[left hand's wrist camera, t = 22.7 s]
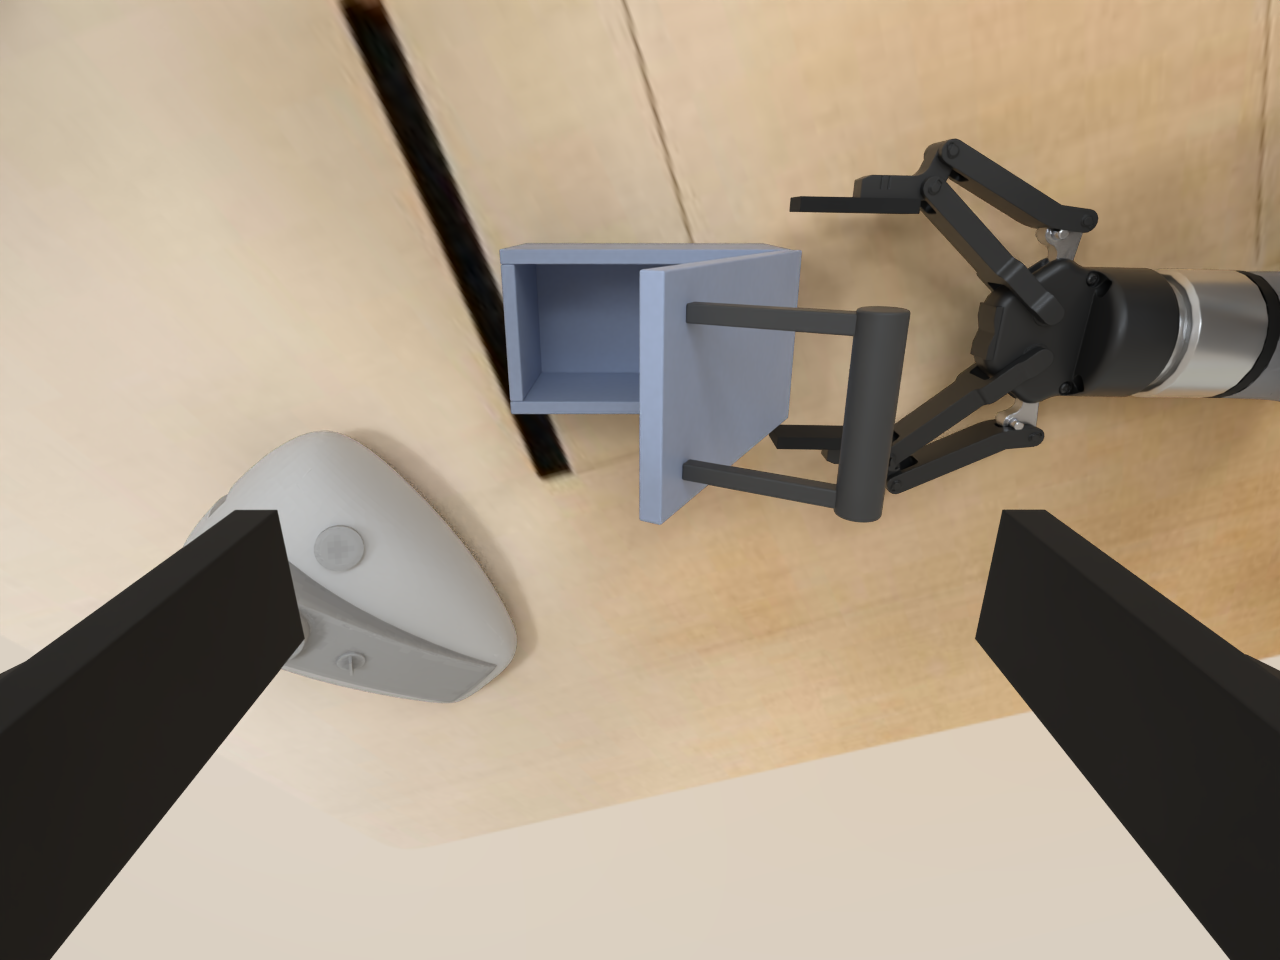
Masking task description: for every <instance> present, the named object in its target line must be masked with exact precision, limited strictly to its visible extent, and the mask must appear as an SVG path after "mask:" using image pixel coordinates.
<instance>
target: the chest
mask: <svg viewBox="0 0 1280 960" xmlns="http://www.w3.org/2000/svg"><path fill="white" fill-rule="evenodd" d="M781 250H790V249H786V248H781V247H777V246H772V245H768V244H658V243H526V244H521V245H517V246H513V247H508V248H504V249H500V263H501V264H502V265H501V276H502V290H503V304H504V318H505V332H506V346H507V360H508V374H509V388H510V400H511V413H512V414H640V270H643V269H650V268H657V267H665V266H672V265H679V264H686V263H694V262H701V261H708V260H716V259H723V258H730V257H738V256H745V255H752V254H759V253H767V252H774V251H781Z"/></svg>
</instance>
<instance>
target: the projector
mask: <svg viewBox="0 0 1280 960" xmlns="http://www.w3.org/2000/svg"><path fill="white" fill-rule="evenodd" d="M234 510H278V515H279V520H280V524H281V529H282V534H283V538H284V543H285V548H286V552H287V557H288V562H289V567H290V571H291V576H292V581H293V585H294V590H295V595H296V599H297V604H298V609H299V613H300V618H301V623H302V628H303V632H304V637H305V639H304V640H303V642H302V643H301V644H300V645H299V647H298V648H297V649H296V651H295V652H294V653H293V654H292V656H291V657H290V658H289V659H288V661H287V662H286V663H285V664H284V666H283V667H282V668H281V669H283V670H286V671H289V672H292V673H295V674H299V675H302V676H305V677H308V678H312V679H315V680H319V681H323V682H327V683H331V684H335V685H339V686H343V687H348V688H352V689H357V690H361V691H366V692H371V693H376V694H382V695H387V696H392V697H398V698H404V699H411V700H418V701H425V702H435V703H454V702H458V701H461V700H463V699H465V698H467V697H469V696H471V695H472V694H474V693H475V692H477V691H478V690H480V689H481V688H482V687H484V686H485V685H486V684H488V683H489V682H490V681H491V680H493V679H494V678H495V677H496V676H498V675H499V674H500V673H501V672H502V671H503V670H504V669H505V668H506V667H507V666H508V665H509V663H510V662H511V661H512V659H513V657H514V654H515V651H516V647H517V634H516V630H515V627H514V625H513V622H512V620H511V618H510V616H509V614H508V612H507V610H506V608H505V606H504V604H503V602H502V600H501V599H500V597H499V595H498V594H497V592H496V590H495V588H494V587H493V585H492V583H491V582H490V580H489V579H488V577H487V576H486V574H485V573H484V571H483V570H482V568H481V567H480V565H479V564H478V562H477V561H476V560H475V558H474V557H473V556H472V554H471V553H470V551H469V550H468V549H467V548H466V546H465V545H464V544H463V542H462V541H461V540H460V539H459V537H458V536H457V535H456V534H455V533H454V532H453V530H452V529H451V528H450V527H449V526H448V524H447V523H446V522H445V521H444V520H443V519H442V518H441V516H440V515H439V514H438V513H437V512H436V511H435V510H434V509H433V508H432V507H431V506H430V504H429V503H428V502H427V501H426V500H425V499H424V498H423V497H422V496H421V495H420V494H419V493H418V492H417V491H416V490H415V489H414V488H413V487H412V486H411V485H410V484H409V483H408V482H407V481H406V480H405V479H404V478H402V477H401V476H400V475H399V474H398V473H397V472H396V471H395V470H394V469H393V468H392V467H390V466H389V465H388V464H387V463H386V462H385V461H384V460H382V459H381V458H380V457H379V456H377V455H376V454H375V453H374V452H372V451H371V450H370V449H368V448H367V447H365V446H364V445H362V444H361V443H359V442H358V441H356V440H354V439H352V438H350V437H348V436H346V435H343V434H340V433H337V432H331V431H316V432H311V433H306V434H304V435H301V436H298V437H296V438H294V439H292V440H290V441H288V442H286V443H284V444H283V445H281V446H279V447H278V448H276V449H274V450H273V451H272V452H270V453H269V454H267V455H266V456H265V457H263V458H262V459H261V460H260V461H259V462H257V463H256V464H255V465H254V466H253V467H252V468H251V469H250V470H248V471H247V472H246V473H245V474H244V475H243V476H242V477H241V478H240V479H239V480H238V481H237V482H236V483H235V484H234V485H233V486H232V488H231V489H230V491H229V493H228V494H227V495H225V496H224V497H222V498H221V499H219V500H218V501H217V502H216V503H215V504H214V505H213V507H212V508H211V509H210V510H209V511H208V512H207V513H206V514H205V515H204V517H203V518H202V519H201V520H200V521H199V523H198V524H197V525H196V527H195V528H194V529H193V531H192V532H191V534H190V535H189V537H188V539H187V540H186V542H185V544H184V546H186V545H187V544H189V543H190V542H191V541H193V540H194V539H195V538H197V537H198V536H200V535H201V534H202V533H204V532H205V531H206V530H208V529H209V528H211V527H212V526H213V525H215V524H216V523H218V522H219V521H220V520H222V519H223V518H224V517H226V516H227V515H229V514H230V513H231V512H233V511H234ZM184 546H183V547H184Z"/></svg>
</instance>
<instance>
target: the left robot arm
mask: <svg viewBox="0 0 1280 960" xmlns="http://www.w3.org/2000/svg"><path fill="white" fill-rule="evenodd" d="M304 639H305V637H304V632H303V628H302V623H301V618H300V613H299V609H298V604H297V599H296V595H295V590H294V585H293V581H292V576H291V571H290V567H289V562H288V557H287V552H286V548H285V543H284V538H283V534H282V529H281V524H280V520H279V515H278V510H234V511H233V512H231V513H230V514H229V515H227V516H226V517H224V518H223V519H222V520H220V521H219V522H218V523H216V524H215V525H213V526H212V527H211V528H209V529H208V530H206V531H205V532H204V533H202V534H201V535H200V536H198V537H197V538H195V539H194V540H193V541H191V542H190V543H189V544H187V545H186V546H184V547H183V548H182V549H180V550H179V551H177V552H176V553H175V554H173V555H172V556H171V557H169V558H168V559H166V560H165V561H164V562H162V563H161V564H159V565H158V566H157V567H155V568H154V569H153V570H151V571H150V572H148V573H147V574H146V575H144V576H143V577H142V578H140V579H139V580H137V581H136V582H135V583H133V584H132V585H130V586H129V587H128V588H126V589H125V590H124V591H122V592H121V593H119V594H118V595H117V596H115V597H114V598H113V599H111V600H110V601H108V602H107V603H106V604H104V605H103V606H101V607H100V608H99V609H97V610H96V611H95V612H93V613H92V614H90V615H89V616H88V617H86V618H85V619H84V620H82V621H81V622H79V623H78V624H77V625H75V626H74V627H72V628H71V629H70V630H68V631H67V632H66V633H64V634H63V635H61V636H60V637H59V638H57V639H56V640H55V641H53V642H52V643H50V644H49V645H48V646H46V647H45V648H43V649H42V650H41V651H39V652H38V653H37V654H35V655H34V656H32V657H31V658H30V659H28V660H27V661H25V662H23V663H21V664H19V665H17V666H15V667H13V668H11V669H9V670H7V671H5V672H3V673H1V674H0V960H50V959H51V958H52V956H53V955H54V954H55V953H56V951H57V950H58V949H59V948H60V946H61V945H62V944H63V943H64V941H65V940H66V939H67V938H68V936H69V935H70V934H71V933H72V931H73V930H74V929H75V927H76V926H77V925H78V924H79V922H80V921H81V920H82V919H83V917H84V916H85V915H86V914H87V912H88V911H89V910H90V909H91V907H92V906H93V905H94V904H95V902H96V901H97V900H98V899H99V897H100V896H101V895H102V894H103V892H104V891H105V890H106V889H107V887H108V886H109V885H110V883H111V882H112V881H113V880H114V878H115V877H116V876H117V875H118V873H119V872H120V871H121V870H122V868H123V867H124V866H125V865H126V863H127V862H128V861H129V860H130V858H131V857H132V856H133V855H134V853H135V852H136V851H137V849H138V848H139V847H140V846H141V844H142V843H143V842H144V841H145V839H146V838H147V837H148V836H149V834H150V833H151V832H152V831H153V829H154V828H155V827H156V826H157V824H158V823H159V822H160V820H161V819H162V818H163V817H164V815H165V814H166V813H167V812H168V810H169V809H170V808H171V807H172V805H173V804H174V803H175V802H176V800H177V799H178V798H179V797H180V795H181V794H182V793H183V792H184V790H185V789H186V788H187V787H188V785H189V784H190V783H191V781H192V780H193V779H194V778H195V776H196V775H197V774H198V773H199V771H200V770H201V769H202V768H203V766H204V765H205V764H206V763H207V761H208V760H209V759H210V758H211V756H212V755H213V754H214V753H215V751H216V750H217V749H218V747H219V746H220V745H221V744H222V742H223V741H224V740H225V739H226V737H227V736H228V735H229V734H230V732H231V731H232V730H233V729H234V727H235V726H236V725H237V724H238V722H239V721H240V720H241V719H242V717H243V716H244V715H245V713H246V712H247V711H248V710H249V708H250V707H251V706H252V705H253V703H254V702H255V701H256V700H257V698H258V697H259V696H260V695H261V693H262V692H263V691H264V690H265V688H266V687H267V686H268V685H269V683H270V682H271V681H272V679H273V678H274V677H275V676H276V674H277V673H278V672H279V671H280V669H281V668H282V667H283V666H284V664H285V663H286V662H287V661H288V659H289V658H290V657H291V656H292V654H293V653H294V652H295V651H296V649H297V648H298V647H299V645H300V644H301V643H302V642H303V640H304ZM975 639H976V640H977V642H978V643H979V644H980V645H981V647H982V648H983V649H984V651H985V652H986V653H987V654H988V656H989V657H990V658H991V659H992V661H993V662H994V663H995V664H996V666H997V667H998V668H999V669H1000V671H1001V672H1002V673H1003V674H1004V676H1005V677H1006V678H1007V679H1008V681H1009V682H1010V683H1011V685H1012V686H1013V687H1014V688H1015V690H1016V691H1017V692H1018V693H1019V695H1020V696H1021V697H1022V698H1023V700H1024V701H1025V702H1026V703H1027V705H1028V706H1029V707H1030V708H1031V710H1032V711H1033V712H1034V713H1035V715H1036V716H1037V717H1038V719H1039V720H1040V721H1041V722H1042V724H1043V725H1044V726H1045V727H1046V729H1047V730H1048V731H1049V732H1050V734H1051V735H1052V736H1053V737H1054V739H1055V740H1056V741H1057V742H1058V744H1059V745H1060V746H1061V747H1062V749H1063V750H1064V751H1065V753H1066V754H1067V755H1068V756H1069V757H1070V759H1071V760H1072V761H1073V763H1074V764H1075V765H1076V766H1077V768H1078V769H1079V770H1080V771H1081V773H1082V774H1083V775H1084V776H1085V778H1086V779H1087V780H1088V781H1089V783H1090V784H1091V785H1092V786H1093V788H1094V789H1095V790H1096V791H1097V793H1098V794H1099V795H1100V797H1101V798H1102V799H1103V800H1104V802H1105V803H1106V804H1107V805H1108V807H1109V808H1110V809H1111V810H1112V812H1113V813H1114V814H1115V815H1116V817H1117V818H1118V819H1119V821H1120V822H1121V823H1122V824H1123V826H1124V827H1125V828H1126V829H1127V831H1128V832H1129V833H1130V834H1131V836H1132V837H1133V838H1134V839H1135V841H1136V842H1137V843H1138V844H1139V846H1140V847H1141V848H1142V849H1143V851H1144V852H1145V853H1146V855H1147V856H1148V857H1149V858H1150V860H1151V861H1152V862H1153V863H1154V865H1155V866H1156V867H1157V868H1158V870H1159V871H1160V872H1161V873H1162V875H1163V876H1164V877H1165V878H1166V880H1167V881H1168V882H1169V883H1170V885H1171V886H1172V887H1173V889H1174V890H1175V891H1176V892H1177V894H1178V895H1179V896H1180V897H1181V899H1182V900H1183V901H1184V902H1185V904H1186V905H1187V906H1188V907H1189V909H1190V910H1191V911H1192V912H1193V914H1194V915H1195V916H1196V917H1197V919H1198V920H1199V921H1200V923H1201V924H1202V925H1203V926H1204V927H1205V929H1206V930H1207V931H1208V933H1209V934H1210V935H1211V936H1212V938H1213V939H1214V940H1215V941H1216V943H1217V944H1218V945H1219V946H1220V948H1221V949H1222V950H1223V951H1224V953H1225V954H1226V955H1227V956H1228V958H1229V959H1230V960H1280V671H1279V670H1277V669H1275V668H1273V667H1271V666H1269V665H1267V664H1265V663H1263V662H1261V661H1259V660H1257V659H1255V658H1253V657H1251V656H1249V655H1245V654H1243V653H1242V652H1241V651H1239V650H1238V649H1237V648H1235V647H1234V646H1232V645H1231V644H1230V643H1228V642H1227V641H1225V640H1224V639H1223V638H1221V637H1220V636H1219V635H1217V634H1216V633H1214V632H1213V631H1212V630H1210V629H1209V628H1208V627H1206V626H1205V625H1203V624H1202V623H1201V622H1199V621H1198V620H1196V619H1195V618H1194V617H1192V616H1191V615H1190V614H1188V613H1187V612H1185V611H1184V610H1183V609H1181V608H1180V607H1179V606H1177V605H1176V604H1174V603H1173V602H1172V601H1170V600H1169V599H1167V598H1166V597H1165V596H1163V595H1162V594H1161V593H1159V592H1158V591H1156V590H1155V589H1154V588H1152V587H1151V586H1150V585H1148V584H1147V583H1145V582H1144V581H1143V580H1141V579H1140V578H1138V577H1137V576H1136V575H1134V574H1133V573H1132V572H1130V571H1129V570H1127V569H1126V568H1125V567H1123V566H1122V565H1121V564H1119V563H1118V562H1116V561H1115V560H1114V559H1112V558H1111V557H1109V556H1108V555H1107V554H1105V553H1104V552H1103V551H1101V550H1100V549H1098V548H1097V547H1096V546H1094V545H1093V544H1091V543H1090V542H1089V541H1087V540H1086V539H1085V538H1083V537H1082V536H1080V535H1079V534H1078V533H1076V532H1075V531H1074V530H1072V529H1071V528H1069V527H1068V526H1067V525H1065V524H1064V523H1062V522H1061V521H1060V520H1058V519H1057V518H1056V517H1054V516H1053V515H1051V514H1050V513H1049V512H1047V511H1046V510H1002V515H1001V520H1000V524H999V529H998V534H997V538H996V543H995V548H994V552H993V557H992V562H991V567H990V571H989V576H988V581H987V585H986V590H985V595H984V599H983V604H982V609H981V613H980V618H979V623H978V628H977V632H976V637H975Z"/></svg>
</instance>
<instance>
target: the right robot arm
mask: <svg viewBox="0 0 1280 960" xmlns="http://www.w3.org/2000/svg"><path fill="white" fill-rule="evenodd" d="M948 178H949V179H950V180H952V181H953V182H955V183H957V184H958V185H960V186H961V187H963V188H965V189H966V190H968V191H969V192H971V193H973V194H974V195H976V196H977V197H979V198H981V199H982V200H984V201H985V202H987V203H989V204H990V205H992V206H993V207H995V208H997V209H998V210H1000V211H1001V212H1003V213H1005V214H1006V215H1008V216H1009V217H1011V218H1013V219H1014V220H1016V221H1018V222H1019V223H1021V224H1023V225H1026V226H1028V227H1031V228H1036V229H1037V231H1036V234H1035V235H1036V237H1037V239H1038V241H1039V242H1040V243H1041V244H1043V245H1045V246H1046V247H1047V248H1048V253H1049V254H1048V258H1045V259H1042V260H1040V261H1039V262H1037V263H1036V264H1034V265H1033V266H1031V267H1029V268H1028V269H1027V267H1026V266H1025V265H1024V264H1023V263H1021V262H1020V261H1018V260H1016V259H1015V258H1014V257H1013V256H1012V255H1011V254H1010V253H1009V252H1008V251H1007V250H1006V249H1005V247H1004V246H1003V245H1002V244H1001V243H1000V242H999V241H998V240H997V238H996V237H995V236H994V235H993V234H992V233H991V232H990V231H989V229H988V228H987V227H986V226H985V225H984V224H983V223H982V222H981V220H980V219H979V218H978V217H977V216H976V215H975V214H974V213H973V212H972V210H971V209H970V208H969V207H968V206H967V205H966V204H965V203H964V201H963V200H962V199H961V198H960V197H959V196H958V195H957V194H956V192H955V191H954V190H953V189H952V188H951V187H950V186H949V185H948V183H947V182H946V181H947V179H948ZM920 210H921V211H922V212H923V213H924V215H925V216H926V217H927V218H928V219H929V220H930V221H931V222H932V223H933V224H934V225H935V227H936V228H937V229H938V230H939V231H940V232H941V233H942V234H943V235H944V236H945V237H946V239H947V240H948V241H949V242H950V243H951V244H952V245H953V246H954V247H955V248H956V249H957V251H958V252H959V253H960V254H961V255H962V256H963V257H964V258H965V259H966V260H967V261H968V263H969V264H970V265H971V266H972V267H973V268H974V269H975V270H976V272H977V276H978V277H979V278H980V279H981V280H982V281H983V283H984V284H985V285H986V286H987V287H988V288H989V289H990V290H991V291H992V292H991V293H990V294H989V296H988V297H987V299H986V300H985V302H984V303H980V307H979V312H978V324H979V329H978V331H977V334H976V336H975V338H974V340H973V343H972V348H971V353H970V354H972V355H974V359H975V362H976V363H975V364H973V365H972V366H970V367H969V368H968V369H966V370H965V371H963V372H962V373H961V374H959V375H958V376H957V379H956V381H955V382H954V383H952V384H951V385H949V386H948V387H947V388H945V389H944V390H942V391H941V392H940V393H938V394H937V395H935V396H934V397H933V398H931V399H930V400H928V401H927V402H925V403H924V404H923V405H921V406H920V407H918V408H917V409H916V410H914V411H913V412H911V413H910V414H908V415H907V416H906V417H904V418H903V419H901V420H900V421H899V422H897V423H896V424H894V431H893V438H892V445H891V452H890V459H889V466H888V473H887V480H886V487H885V488H886V489H887V490H888V491H889V492H890V493H892V494H898V493H901V492H904V491H906V490H908V489H911V488H913V487H916V486H918V485H920V484H923V483H925V482H928V481H930V480H933V479H935V478H937V477H940V476H942V475H945V474H947V473H949V472H952V471H954V470H957V469H959V468H962V467H964V466H966V465H969V464H971V463H974V462H976V461H978V460H981V459H983V458H986V457H988V456H991V455H993V454H995V453H998V452H1000V451H1003V450H1005V449H1013V448H1024V447H1034V446H1037V445H1039V444H1040V443H1041V442H1042V441H1043V439H1044V432H1043V431H1042V430H1041V429H1039V428H1037V427H1036V422H1037V414H1038V406H1039V402H1041V401H1043V400H1045V399H1047V398H1050V397H1053V396H1103V397H1125V396H1130V395H1132V396H1134V397H1174V398H1242V399H1264V400H1274V401H1280V272H1246V271H1235V270H1207V269H1156V270H1152V269H1147V268H1110V267H1082V266H1080V265H1078V264H1077V263H1075V262H1074V261H1073V259H1074V256H1075V253H1076V251H1077V248H1078V245H1079V242H1080V239H1081V236H1082V233H1086V232H1089V231H1091V230H1092V229H1093V228H1095V226H1096V224H1097V222H1098V215H1097V213H1096V212H1095V211H1094V210H1091V209H1085V208H1078V207H1071V206H1064V205H1061V204H1059V203H1058V202H1056V201H1054V200H1053V199H1051V198H1050V197H1048V196H1047V195H1045V194H1043V193H1042V192H1040V191H1039V190H1037V189H1036V188H1034V187H1032V186H1031V185H1029V184H1028V183H1026V182H1025V181H1023V180H1022V179H1020V178H1018V177H1017V176H1015V175H1014V174H1012V173H1011V172H1009V171H1007V170H1006V169H1004V168H1003V167H1001V166H1000V165H998V164H997V163H995V162H993V161H992V160H990V159H989V158H987V157H986V156H984V155H982V154H981V153H979V152H978V151H976V150H975V149H973V148H971V147H970V146H968V145H967V144H965V143H964V142H962V141H961V140H958V139H950V140H946V141H942V142H938V143H934V144H932V145H930V146H929V147H928V148H927V149H926V150H925V153H924V161H923V163H922V165H921V167H920V169H919V170H918V171H917V172H916V173H915V174H914V175H912V176H898V175H869V176H864V177H862V178H859V179H857V180H855V183H854V191H853V197H807V196H800V197H793V198H791V201H790V212H829V213H880V214H919V211H920ZM989 378H990V379H989ZM1007 393H1008V394H1009V395H1011V396H1012V397H1014V398H1015V403H1014V404H1013V406H1012V407H1011V408H1009V409H1007V410H1004V411H1002V412H998V413H997V414H996V416H995V417H996V419H993V420H988V421H984V422H980V423H978V424H975V425H973V426H970V427H968V428H966V429H963V430H961V431H958V432H956V433H954V434H951V435H949V436H947V437H944V438H942V439H940V440H937V441H935V442H932V443H930V444H928V443H929V442H930V441H932V440H933V439H935V438H936V437H938V436H939V435H941V434H942V433H944V432H945V431H946V430H948V429H949V428H951V427H952V426H954V425H955V424H957V423H958V422H959V421H961V420H962V419H964V418H965V417H967V416H968V415H970V414H971V413H972V412H974V411H975V410H977V409H978V408H980V407H981V406H983V405H987V404H991V403H994V402H995V401H997V400H998V399H1000V398H1001V397H1003V396H1004V395H1006V394H1007ZM842 432H843V426H823V425H779V426H777V427H776V428H775V429H774V430H773V431H771V432H770V433H769V436H770V438H771V440H772V441H773V443H774V445H775V446H776V448H777V449H816V450H822V452H821V454H822V455H823V456H824V458H825V459H826V460H827V461H829V462H831V463H834V464H839V459H840V450H841V441H842ZM926 444H928V445H926Z"/></svg>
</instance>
